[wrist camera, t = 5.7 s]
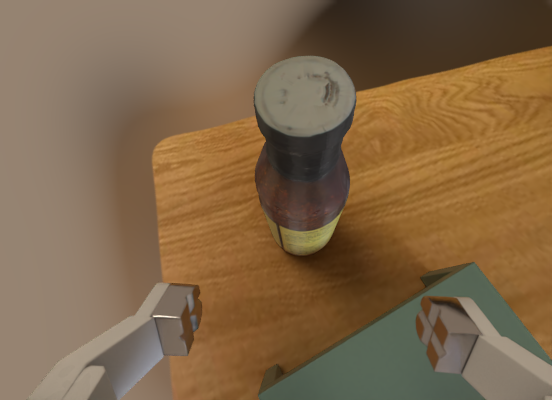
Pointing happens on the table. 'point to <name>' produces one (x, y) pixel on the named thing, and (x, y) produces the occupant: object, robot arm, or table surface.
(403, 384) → the shelf
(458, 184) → the table surface
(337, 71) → the sauce bottle
